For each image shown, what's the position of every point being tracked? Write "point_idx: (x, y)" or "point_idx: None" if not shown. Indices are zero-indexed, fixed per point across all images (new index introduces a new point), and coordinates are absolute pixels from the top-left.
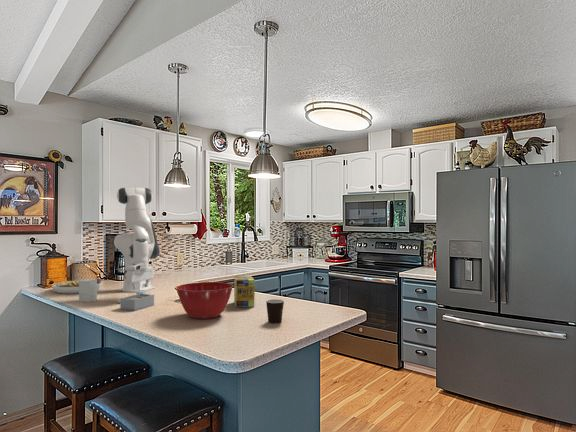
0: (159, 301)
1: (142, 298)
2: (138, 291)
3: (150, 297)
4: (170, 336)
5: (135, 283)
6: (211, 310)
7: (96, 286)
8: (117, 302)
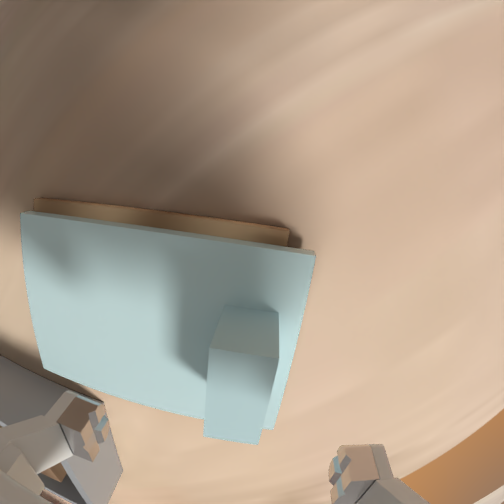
0: (232, 473)
1: None
2: (236, 365)
3: (76, 496)
4: None
5: (34, 484)
6: None
7: None
8: (36, 202)
